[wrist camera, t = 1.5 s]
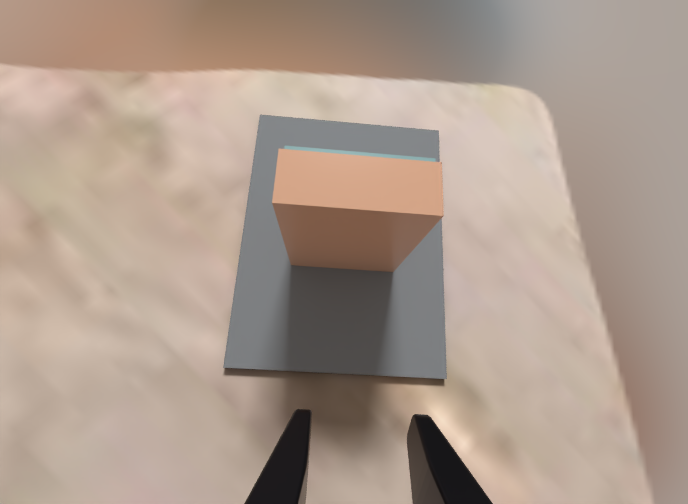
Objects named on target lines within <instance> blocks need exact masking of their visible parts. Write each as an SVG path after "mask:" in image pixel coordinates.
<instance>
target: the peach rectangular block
mask: <svg viewBox="0 0 688 504" xmlns="http://www.w3.org/2000/svg"><path fill="white" fill-rule="evenodd" d="M272 204H273V208H274V211H275V214H276V217H277V221H278V224H279V227H280V231H281V234H282V237H283V241H284V244H285V247H286V250H287V254H288V257H289V260H290V264H291V265H295V266H310V267H325V268H339V269H354V270H369V271H384V272H394V271H395V270H396V269H397V267H398V266H399V265H400V264H401V263H402V262H403V261H404V260H405V258H406V257H407V256H408V255H409V254H410V253H411V252H412V251H413V250H414V248H415V247H416V246H417V245H418V244H419V243H420V242H421V241H422V239H423V238H424V237H425V236H426V235H427V234H428V233H429V232H430V231H431V229H432V228H433V227H434V226H435V225H436V224H437V223H438V222H439V220H440V219H441V218H442V217H443V216H444V214H443V185H442V162H436V159H435V158H425V157H413V156H401V155H390V154H378V153H366V152H354V151H343V150H331V149H319V148H308V147H296V146H284V149H279V150H278V158H277V166H276V174H275V183H274V191H273V199H272Z"/></svg>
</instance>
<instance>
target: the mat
mask: <svg viewBox="0 0 688 504" xmlns="http://www.w3.org/2000/svg"><path fill="white" fill-rule="evenodd" d="M284 146H296V147H308V148H319V149H331V150H343V151H354V152H366V153H378V154H390V155H401V156H413V157H425V158H435V159H436V162H440V159H439V131H437V130H426V129H415V128H403V127H392V126H381V125H370V124H359V123H348V122H337V121H325V120H314V119H303V118H292V117H281V116H270V115H260V118H259V125H258V132H257V139H256V146H255V153H254V160H253V167H252V174H251V180H250V187H249V194H248V201H247V208H246V215H245V222H244V229H243V236H242V242H241V249H240V256H239V263H238V270H237V277H236V284H235V291H234V298H233V304H232V311H231V318H230V325H229V332H228V339H227V346H226V353H225V360H224V366H223V368H242V369H262V370H281V371H301V372H320V373H340V374H359V375H379V376H398V377H418V378H437V379H447V373H446V342H445V312H444V281H443V251H442V220H441V219H440V220H439V222H438V223H437V224H436V225H435V226H434V227H433V228H432V229H431V231H430V232H429V233H428V234H427V235H426V236H425V237H424V238H423V239H422V241H421V242H420V243H419V244H418V245H417V246H416V247H415V248H414V250H413V251H412V252H411V253H410V254H409V255H408V256H407V257H406V258H405V260H404V261H403V262H402V263H401V264H400V265H399V266H398V267H397V269H396V270H395V271H394V272H384V271H369V270H354V269H339V268H325V267H310V266H295V265H291V264H290V260H289V257H288V254H287V250H286V247H285V244H284V241H283V237H282V234H281V231H280V227H279V224H278V221H277V217H276V214H275V211H274V208H273V204H272V199H273V191H274V183H275V174H276V166H277V158H278V150H279V149H284Z"/></svg>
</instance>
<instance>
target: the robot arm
mask: <svg viewBox="0 0 688 504" xmlns="http://www.w3.org/2000/svg"><path fill="white" fill-rule="evenodd" d="M311 420H312V411H311V410H305V409H297V410H296V411H295V412H294V413H293V415H292V417H291V419H290V421H289V423H288V424H287V426H286V428H285V430H284V432H283V434H282V436H281V437H280V439H279V441H278V443H277V445H276V447H275V448H274V450H273V452H272V454H271V456H270V458H269V459H268V461H267V463H266V465H265V467H264V469H263V470H262V472H261V474H260V476H259V478H258V480H257V481H256V483H255V485H254V487H253V489H252V491H251V492H250V494H249V496H248V498H247V500H246V502H245V503H244V504H305V502H306V491H307V477H308V463H309V450H310V436H311ZM407 448H408V458H409V469H410V479H411V489H412V499H413V504H493V503H492V502H491V501H490V499H489V498H488V496H487V495H486V494H485V492H484V491H483V489H482V488H481V487H480V485H479V484H478V482H477V481H476V480H475V478H474V477H473V475H472V474H471V473H470V471H469V470H468V468H467V467H466V466H465V464H464V463H463V462H462V460H461V459H460V457H459V456H458V455H457V453H456V452H455V450H454V449H453V448H452V446H451V445H450V443H449V442H448V441H447V439H446V438H445V436H444V435H443V434H442V432H441V431H440V429H439V428H438V427H437V425H436V424H435V422H434V421H433V420H432V418H431V417H430V416H428V415H418V414H415V415H413V417H412V419H411V423H410V426H409V430H408V434H407Z"/></svg>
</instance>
